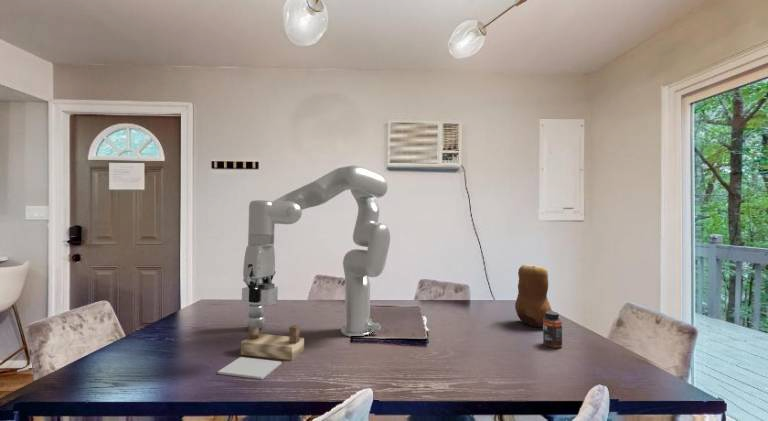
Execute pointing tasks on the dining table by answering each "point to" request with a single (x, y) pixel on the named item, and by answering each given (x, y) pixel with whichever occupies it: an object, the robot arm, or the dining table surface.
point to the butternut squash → (532, 294)
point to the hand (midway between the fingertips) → (259, 299)
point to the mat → (250, 368)
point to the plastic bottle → (256, 315)
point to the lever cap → (262, 294)
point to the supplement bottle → (552, 330)
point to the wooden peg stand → (273, 344)
